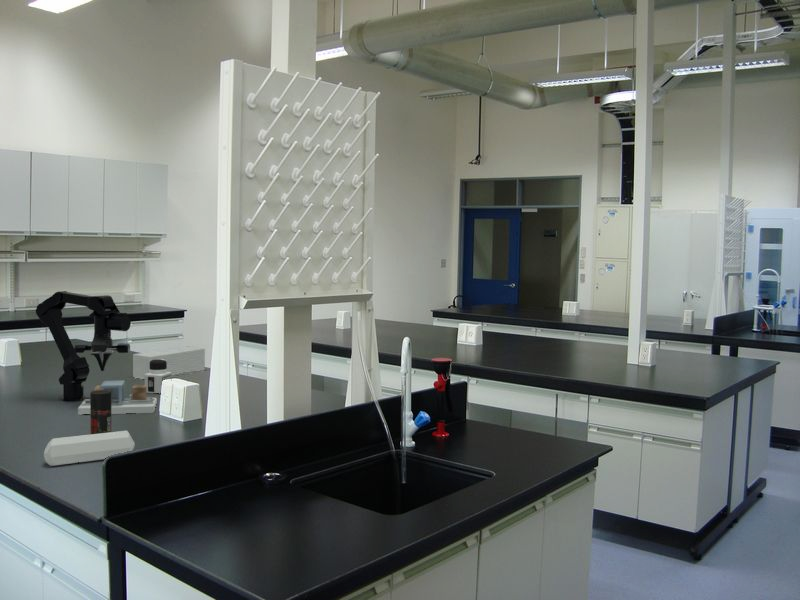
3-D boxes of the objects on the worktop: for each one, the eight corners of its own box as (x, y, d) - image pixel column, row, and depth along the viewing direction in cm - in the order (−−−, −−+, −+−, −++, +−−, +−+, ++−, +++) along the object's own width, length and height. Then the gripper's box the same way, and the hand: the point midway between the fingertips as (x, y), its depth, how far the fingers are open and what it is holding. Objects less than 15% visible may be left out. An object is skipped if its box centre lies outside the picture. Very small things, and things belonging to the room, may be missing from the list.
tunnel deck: (78, 415, 251) (77, 387, 250) (84, 405, 265) (84, 379, 264) (153, 413, 257) (153, 386, 257) (156, 404, 271) (156, 378, 270)
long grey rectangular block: (188, 368, 345) (188, 346, 344) (204, 371, 340) (204, 348, 339) (133, 378, 318) (133, 354, 317) (149, 381, 312) (149, 356, 311)
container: (161, 394, 287) (161, 362, 286) (144, 392, 289) (144, 360, 288) (171, 390, 295) (171, 359, 294) (154, 389, 296) (154, 357, 295)
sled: (94, 402, 256) (94, 388, 256) (96, 399, 261) (96, 385, 261) (151, 401, 261) (152, 387, 261) (153, 398, 266) (153, 384, 266)
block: (132, 400, 260) (132, 387, 259) (133, 397, 264) (133, 385, 264) (145, 399, 261) (145, 387, 261) (146, 397, 265) (146, 384, 265)
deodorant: (94, 437, 225) (94, 389, 224) (113, 437, 226) (113, 390, 224) (87, 442, 219) (87, 394, 218) (107, 442, 220) (107, 394, 218)
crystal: (130, 435, 215) (41, 445, 202) (135, 428, 210) (43, 438, 197) (133, 460, 212) (42, 472, 200) (138, 454, 207) (45, 465, 194)
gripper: (70, 332, 259) (70, 375, 260) (125, 332, 262) (125, 375, 264) (77, 328, 269) (77, 369, 271) (130, 328, 273) (130, 369, 275)
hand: (102, 370), depth 270 cm, fingers closed
